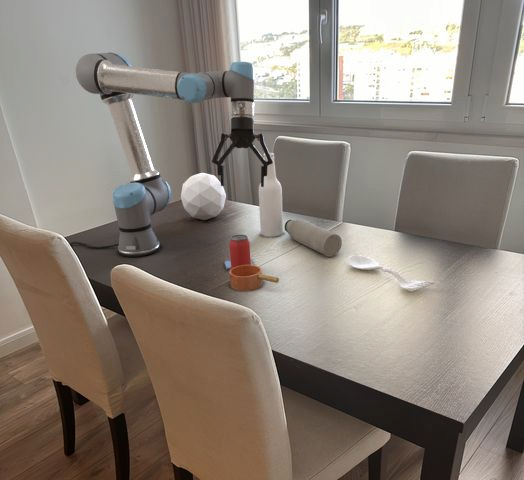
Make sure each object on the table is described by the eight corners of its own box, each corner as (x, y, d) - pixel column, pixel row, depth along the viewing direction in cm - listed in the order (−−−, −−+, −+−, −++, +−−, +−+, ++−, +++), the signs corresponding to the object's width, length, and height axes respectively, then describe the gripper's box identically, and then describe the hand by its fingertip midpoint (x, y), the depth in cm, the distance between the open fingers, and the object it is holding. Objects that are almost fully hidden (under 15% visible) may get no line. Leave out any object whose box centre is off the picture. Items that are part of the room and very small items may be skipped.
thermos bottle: (345, 243, 169) (302, 224, 191) (334, 229, 164) (290, 210, 186) (330, 261, 170) (288, 240, 191) (318, 247, 164) (277, 227, 186)
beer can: (236, 278, 157) (233, 242, 151) (228, 271, 162) (225, 236, 156) (255, 273, 159) (252, 237, 153) (246, 267, 164) (243, 232, 158)
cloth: (224, 263, 168) (224, 261, 168) (249, 260, 169) (249, 258, 169) (226, 270, 163) (226, 267, 163) (252, 266, 164) (252, 264, 164)
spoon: (411, 299, 137) (412, 288, 136) (340, 265, 162) (341, 255, 160) (434, 291, 141) (436, 280, 139) (362, 259, 165) (362, 249, 163)
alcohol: (287, 232, 194) (285, 151, 179) (275, 238, 188) (272, 156, 173) (268, 229, 199) (265, 150, 183) (256, 235, 192) (252, 154, 177)
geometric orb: (211, 236, 216) (203, 207, 198) (177, 215, 222) (166, 185, 203) (237, 206, 221) (231, 176, 203) (203, 186, 227) (195, 155, 208)
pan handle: (256, 279, 148) (256, 274, 147) (259, 277, 149) (259, 272, 148) (276, 283, 144) (276, 278, 144) (279, 281, 146) (279, 276, 145)
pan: (224, 286, 151) (222, 273, 149) (242, 275, 158) (241, 262, 156) (250, 293, 146) (249, 279, 144) (268, 281, 153) (268, 267, 151)
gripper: (202, 115, 156) (203, 186, 163) (280, 116, 154) (278, 187, 161) (206, 118, 163) (208, 185, 170) (281, 118, 161) (279, 186, 168)
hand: (242, 186), depth 166 cm, fingers open, 13 cm apart
